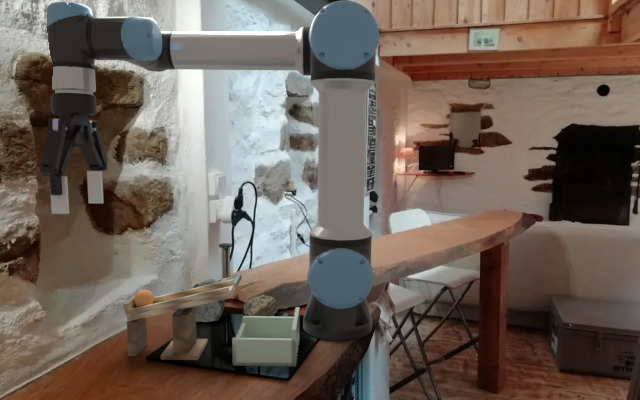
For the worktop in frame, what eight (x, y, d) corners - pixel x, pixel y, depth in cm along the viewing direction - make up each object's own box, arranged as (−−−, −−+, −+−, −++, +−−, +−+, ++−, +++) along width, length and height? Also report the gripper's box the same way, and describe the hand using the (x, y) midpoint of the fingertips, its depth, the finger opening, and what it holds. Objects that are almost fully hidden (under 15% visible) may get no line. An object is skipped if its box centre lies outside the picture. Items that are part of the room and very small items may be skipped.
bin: (299, 339, 104) (299, 307, 103) (295, 366, 92) (295, 329, 91) (243, 339, 104) (243, 306, 103) (232, 365, 92) (232, 328, 91)
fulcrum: (208, 342, 102) (207, 303, 101) (197, 360, 94) (196, 318, 93) (141, 341, 102) (139, 302, 101) (125, 359, 95) (124, 317, 93)
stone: (193, 281, 110) (223, 269, 119) (169, 303, 115) (199, 291, 123) (216, 318, 108) (244, 303, 117) (190, 339, 113) (219, 324, 121)
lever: (243, 282, 107) (238, 263, 106) (230, 304, 93) (224, 282, 92) (152, 303, 107) (147, 284, 107) (127, 328, 94) (120, 306, 93)
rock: (283, 319, 116) (283, 300, 116) (251, 324, 113) (250, 305, 112) (273, 309, 123) (273, 291, 122) (242, 314, 119) (242, 295, 119)
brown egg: (158, 302, 99) (153, 285, 99) (151, 309, 96) (147, 291, 95) (140, 306, 99) (136, 289, 99) (133, 312, 96) (128, 294, 95)
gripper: (85, 98, 104) (90, 199, 107) (10, 86, 80) (19, 218, 82) (121, 98, 104) (125, 199, 107) (57, 86, 80) (65, 219, 82)
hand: (79, 208), depth 95 cm, fingers open, 13 cm apart
